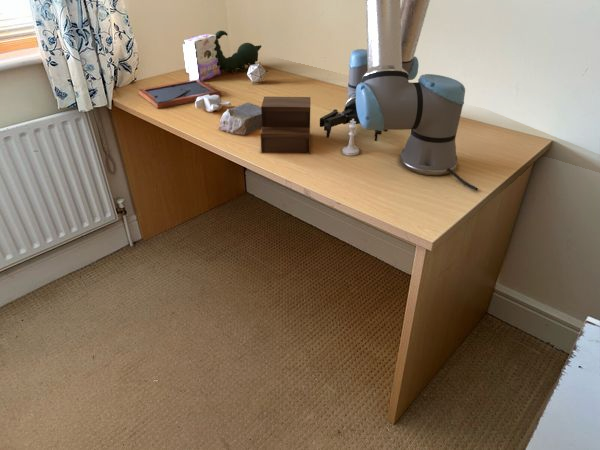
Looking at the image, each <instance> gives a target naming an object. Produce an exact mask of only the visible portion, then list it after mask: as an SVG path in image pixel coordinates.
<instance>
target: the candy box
mask: <svg viewBox="0 0 600 450" xmlns="http://www.w3.org/2000/svg"><path fill="white" fill-rule="evenodd" d="M193 37H194V38H192V37H191V38H187V39H184V40H183V42H184V44H185V49H186V56H187V63H188V70H189V73H188V76H189V80H195V79H199V80H201V81H203V82H205V81H207V80H209V79H212V78H214V77H217V76H219V75H221V70H220V66H217V62H218V58H215V55H217V52H216V51H215V50H214V48H215V47H216V45H215V44H214V42H215V40H216V35H215V34H209V33H204V34H202V35H201V34H200V35H198V36H193Z"/></svg>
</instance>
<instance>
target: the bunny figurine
mask: <svg viewBox="0 0 600 450" xmlns="http://www.w3.org/2000/svg"><path fill="white" fill-rule="evenodd" d="M194 105H195V108H196V109H202V110H203V109H204V110H205V111H206V112H210V113H213V112H214V111H220V110H221V109H222V107H223V106H226V107H232V102H231V101H222V99H221V96H218V95H212V96H209V95H204V96H200V97H197V99H196V101H194Z"/></svg>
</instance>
